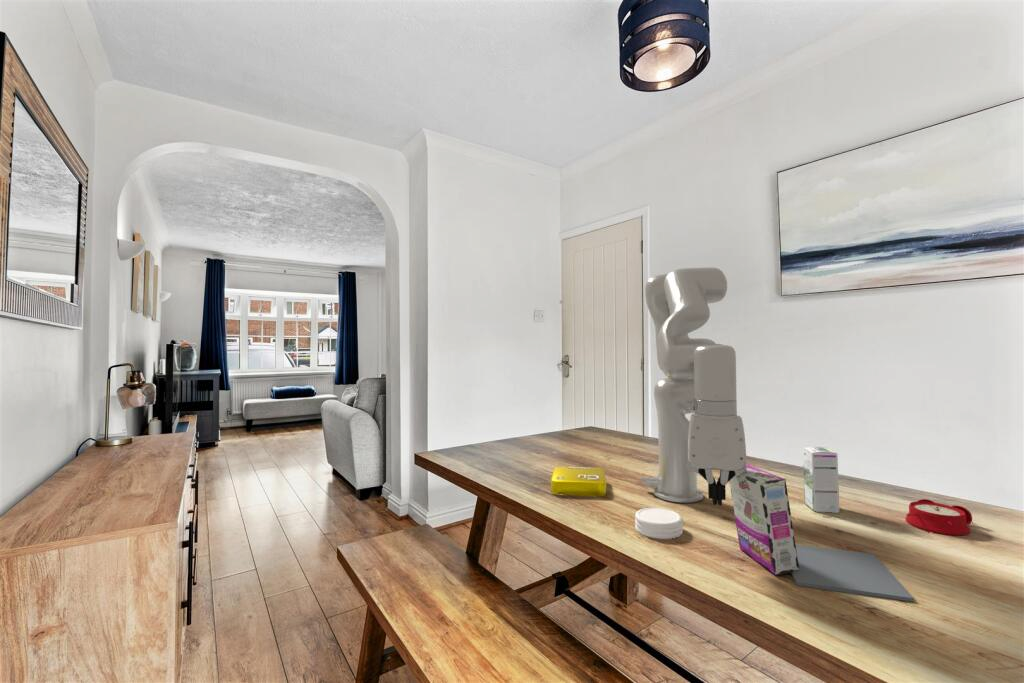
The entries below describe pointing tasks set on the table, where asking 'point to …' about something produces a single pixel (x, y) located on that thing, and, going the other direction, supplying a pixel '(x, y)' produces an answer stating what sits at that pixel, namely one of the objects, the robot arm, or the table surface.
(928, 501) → the alarm clock
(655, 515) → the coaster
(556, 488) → the element tile
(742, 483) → the candy bar box
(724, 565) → the table surface
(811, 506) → the syrup box
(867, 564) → the slate mat
